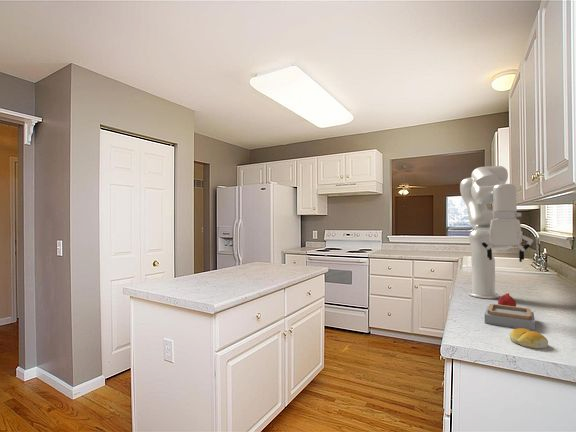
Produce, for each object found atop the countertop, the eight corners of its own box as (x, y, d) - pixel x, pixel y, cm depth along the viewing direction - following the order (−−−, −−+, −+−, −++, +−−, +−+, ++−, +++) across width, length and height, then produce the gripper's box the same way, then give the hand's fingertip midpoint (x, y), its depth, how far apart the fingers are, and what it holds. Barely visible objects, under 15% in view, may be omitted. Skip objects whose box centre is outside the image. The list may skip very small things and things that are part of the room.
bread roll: (525, 337, 100) (524, 324, 100) (554, 348, 91) (553, 334, 91) (502, 339, 99) (502, 325, 99) (529, 350, 90) (529, 336, 90)
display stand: (487, 313, 125) (487, 302, 125) (533, 320, 116) (533, 308, 116) (484, 323, 113) (484, 311, 113) (535, 330, 105) (534, 317, 105)
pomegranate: (502, 315, 122) (502, 294, 122) (495, 311, 128) (494, 290, 128) (519, 315, 121) (519, 294, 122) (511, 311, 127) (510, 291, 127)
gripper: (532, 216, 123) (533, 261, 123) (479, 216, 133) (480, 258, 133) (533, 215, 117) (533, 263, 117) (477, 216, 127) (478, 260, 127)
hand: (505, 260), depth 125 cm, fingers open, 9 cm apart
